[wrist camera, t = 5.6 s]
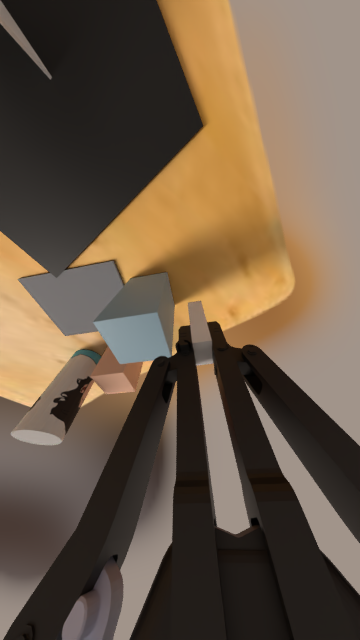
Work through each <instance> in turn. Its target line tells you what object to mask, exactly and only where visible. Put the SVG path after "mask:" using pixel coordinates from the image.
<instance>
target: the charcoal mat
mask: <svg viewBox="0 0 360 640" xmlns="http://www.w3.org/2000/svg"><path fill="white" fill-rule="evenodd" d="M18 280H19V282H20V283H21V284H22V285H23V286H24V288H25V289H26V290H27V291H28V292H29V293H30V295H31V296H32V297H33V298H34V299H35V301H36V302H37V303H38V304H39V305H40V307H41V308H42V309H43V310H44V311H45V313H46V314H47V315H48V316H49V317H50V318H51V320H52V321H53V322H54V323H55V324H56V326H57V327H58V328H59V329H60V330H61V332H62V333H63V334H64V335H65V336H69V335H75V334H82V333H89V332H96V331H98V329H97V328H96V326H95V325H94V323H93V321H94V320H95V319H96V318H97V317H98V315H99V314H100V313H101V312H102V311H103V310H104V309H105V307H106V306H107V305H108V304H109V303H110V302H111V300H112V299H113V298H114V297H115V296H116V295H117V294H118V292H119V291H120V290H121V289H122V288H123V287H124V284H123V281H122V279H121V276H120V274H119V272H118V269H117V267H116V264H115V262H114V260H113V261H108V262H103V263H98V264H93V265H87V266H82V267H77V268H72V269H67V270H64V271H63V272H62V273H61V274H60V275H59V276H58V277H57V278H56V277H55V276H53V275H52V274H51V273H46V274H41V275H36V276H30V277H25V278H20V279H18Z"/></svg>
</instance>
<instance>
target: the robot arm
mask: <svg viewBox="0 0 360 640" xmlns="http://www.w3.org/2000/svg"><path fill="white" fill-rule="evenodd" d="M188 309H189V319H190V325H189V326H182V327H180V329H179V341H178V342H177V343H176V350H177V353H176V354H175V355H173V356H171V357H169V358H167V357H166V356H159V357H157V358H156V359H155V360H154V361H153V363H152V365H151V367H150V369H149V371H148V374H147V376H146V378H145V380H144V382H143V385H142V387H141V389H140V391H139V393H138V395H137V398H136V400H135V402H134V404H133V407H132V409H131V411H130V413H129V415H128V417H127V419H126V422H125V424H124V426H123V428H122V430H121V432H120V435H119V437H118V439H117V441H116V443H115V446H114V448H113V450H112V452H111V454H110V457H109V459H108V461H107V463H106V466H105V467H104V470H103V472H102V474H101V476H100V479H99V481H98V483H97V485H96V487H95V489H94V491H93V494H92V496H91V498H90V500H89V502H88V504H87V507H86V509H85V511H84V513H83V516H82V518H81V520H80V522H79V524H78V526H77V528H76V530H75V531H74V533H73V534H72V536H71V537H70V539H69V540H68V542H67V543H66V545H65V546H64V548H63V549H62V551H61V553H60V554H59V555H58V557H57V558H56V560H55V561H54V563H53V564H52V566H51V567H50V569H49V570H48V572H47V573H46V575H45V576H44V577H43V579H42V580H41V582H40V583H39V585H38V586H37V588H36V589H35V591H34V592H33V594H32V595H31V597H30V598H29V600H28V601H27V603H26V604H25V606H24V607H23V609H22V610H21V612H20V613H19V615H18V616H17V617H16V619H15V620H14V622H13V623H12V625H11V627H10V629H9V630H8V632H7V634H6V636H5V637H4V639H3V640H113V636H114V633H115V629H116V626H117V622H118V619H119V615H120V612H121V607H122V601H123V579H122V575H121V572H120V569H121V566H122V564H123V562H124V559H125V557H126V555H127V552H128V549H129V546H130V544H131V541H132V538H133V535H134V532H135V529H136V525H137V522H138V519H139V515H140V511H141V508H142V504H143V500H144V497H145V493H146V489H147V486H148V482H149V478H150V474H151V470H152V467H153V463H154V459H155V456H156V452H157V449H158V444H159V441H160V437H161V433H162V430H163V426H164V422H165V419H166V415H167V412H168V408H169V404H170V400H171V396H172V393H173V389H174V386H175V382H176V381H177V456H176V457H177V458H176V459H177V460H176V461H177V462H176V463H177V464H176V482H175V486H174V496H173V536H172V543H171V545H170V546H169V548H168V550H167V551H166V553H165V555H164V557H163V559H162V562H161V564H160V567H159V569H158V572H157V574H156V576H155V579H154V581H153V584H152V586H151V589H150V591H149V593H148V596H147V598H146V601H145V603H144V606H143V608H142V611H141V613H140V615H139V618H138V620H137V623H136V625H135V628H134V630H133V632H132V635H131V637H130V640H360V595H359V594H358V593H357V591H356V590H355V589H354V588H353V587H352V586H351V584H350V583H349V582H348V581H347V580H346V578H345V577H344V576H343V575H342V574H341V572H340V571H339V570H338V569H337V568H336V567H335V565H334V564H333V563H332V562H331V561H330V560H329V559H328V557H326V555H325V554H324V553H323V552H322V551H321V550H320V549H319V547H318V545H317V542H316V540H315V538H314V536H313V533H312V531H311V529H310V526H309V524H308V521H307V519H306V517H305V514H304V512H303V510H302V507H301V505H300V503H299V500H298V498H297V496H296V494H295V492H294V490H293V488H292V486H291V485H290V483H289V482H288V481H287V479H286V478H285V477H284V475H283V474H282V471H281V469H280V467H279V465H278V462H277V460H276V457H275V455H274V452H273V450H272V447H271V445H270V443H269V440H268V438H267V435H266V433H265V430H264V428H263V426H262V423H261V421H260V418H259V416H258V413H257V411H256V408H255V406H254V403H253V401H252V398H251V396H250V393H249V391H248V389H247V386H246V384H247V385H248V386H249V388H250V389H251V391H252V392H253V394H254V395H255V396H256V398H257V399H258V401H259V402H260V404H261V405H262V406H263V408H264V409H265V410H266V412H267V413H268V415H269V416H270V418H271V419H272V420H273V422H274V424H275V425H276V426H277V428H278V429H279V430H280V432H281V433H282V435H283V436H284V438H285V439H286V441H287V442H288V444H289V445H290V446H291V448H292V449H293V450H294V452H295V454H296V455H297V456H298V458H299V459H300V461H301V462H302V464H303V465H304V466H305V468H306V469H307V471H308V472H309V473H310V475H311V476H312V477H313V479H314V481H315V482H316V483H317V485H318V486H319V488H320V489H321V491H322V492H323V493H324V495H325V496H326V498H327V499H328V501H329V502H330V503H331V505H332V506H333V508H334V509H335V511H336V512H337V513H338V515H339V516H340V518H341V519H342V520H343V522H344V523H345V524H346V526H347V527H348V528H349V530H350V531H351V532H352V534H353V535H354V537H355V538H356V539H357V540H358V542H359V543H360V446H359V445H358V444H357V443H356V442H355V441H354V440H353V439H352V438H351V437H350V436H349V435H348V434H347V433H346V432H345V431H344V430H343V429H342V428H340V427H339V426H338V424H337V423H335V422H334V421H333V420H332V419H331V418H330V417H329V416H328V415H327V414H326V413H325V412H324V411H323V410H322V409H321V408H320V407H319V406H318V405H317V404H316V403H315V402H314V401H313V400H312V399H311V398H310V397H309V396H308V395H307V394H306V393H305V392H304V391H303V390H302V389H301V388H300V387H299V386H298V385H297V384H296V383H295V382H294V381H293V380H291V379H290V378H289V377H288V376H287V375H286V374H285V373H284V372H283V371H282V370H281V369H280V368H279V367H278V366H277V365H276V364H275V363H274V362H273V361H272V360H271V359H270V358H269V357H268V356H267V355H266V354H265V353H264V352H263V351H262V350H261V349H260V348H258V347H257V346H254V345H245V346H244V347H243V348H242V349H241V348H234V347H231V346H230V345H229V344H228V343H227V342H226V339H225V337H224V335H223V332H222V329H221V327H220V324H219V323H217V322H216V321H214V322H207V321H206V317H205V314H204V310H203V307H202V303H201V301H196V302H189V303H188ZM212 363H214V371H215V375H216V378H217V382H218V386H219V391H220V395H221V399H222V404H223V408H224V412H225V416H226V421H227V425H228V429H229V433H230V437H231V441H232V446H233V450H234V454H235V459H236V463H237V467H238V471H239V476H240V480H241V484H242V490H243V496H244V501H245V506H246V510H247V514H248V519H249V523H250V528H248V529H246V530H244V531H242V532H240V533H238V534H232V533H230V532H228V531H225V530H223V529H221V528H218V527H217V524H216V516H215V509H214V500H213V493H212V486H211V478H210V470H209V462H208V454H207V446H206V438H205V430H204V423H203V414H202V407H201V399H200V390H199V382H198V374H197V367H196V365H204V364H212ZM245 382H246V384H245Z"/></svg>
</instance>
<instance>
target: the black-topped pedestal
mask: <svg viewBox="0 0 360 640" xmlns="http://www.w3.org/2000/svg"><path fill="white" fill-rule="evenodd" d="M202 127H203V124H202V121H201V118H200V116H199V113H198V110H197V108H196V105H195V102H194V100H193V97H192V94H191V92H190V89H189V86H188V84H187V81H186V78H185V76H184V73H183V70H182V68H181V65H180V62H179V59H178V57H177V54H176V51H175V49H174V46H173V43H172V41H171V38H170V35H169V33H168V30H167V27H166V25H165V22H164V19H163V17H162V14H161V11H160V9H159V6H158V3H157V1H156V0H0V231H1V232H2V233H3V234H5V235H6V236H7V237H8V238H9V239H11V240H12V241H13V242H14V243H15V244H16V245H18V246H19V247H20V248H21V249H22V250H24V251H25V252H26V253H27V254H28V255H30V256H31V257H32V258H33V259H34V260H35V261H37V262H38V263H39V264H40V265H41V266H43V267H44V268H45V269H46V270H47V271H49V272H50V273H51V274H52V275H53V276H55V277H56V278H57V277H58V276H59V275H60V274H61V273H62V272H63V271H64V270H65V269H66V268H67V267H68V266H69V265H70V264H71V263H72V261H73V260H74V259H75V258H76V257H77V256H78V255H79V254H80V253H81V252H82V251H83V250H84V249H85V248H86V247H87V246H88V245H89V244H90V243H91V242H92V241H93V240H94V239H95V238H96V237H97V236H98V235H99V233H100V232H101V231H102V230H103V229H104V228H105V227H106V226H107V225H108V224H109V223H110V222H111V221H112V220H113V219H114V218H115V217H116V216H117V215H118V214H119V213H120V212H121V211H122V210H123V209H124V208H125V206H126V205H127V204H128V203H129V202H130V201H131V200H132V199H133V198H134V197H135V196H136V195H137V194H138V193H139V192H140V191H141V190H142V189H143V188H144V187H145V186H146V185H147V184H148V183H149V182H150V181H151V180H152V178H153V177H154V176H155V175H156V174H157V173H158V172H159V171H160V170H161V169H162V168H163V167H164V166H165V165H166V164H167V163H168V162H169V161H170V160H171V159H172V158H173V157H174V156H175V155H176V154H177V153H178V151H179V150H180V149H181V148H182V147H183V146H184V145H185V144H186V143H187V142H188V141H189V140H190V139H191V138H192V137H193V136H194V135H195V134H196V133H197V132H198V131H199V130H200V129H201V128H202Z"/></svg>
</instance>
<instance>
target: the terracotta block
mask: <svg viewBox="0 0 360 640" xmlns="http://www.w3.org/2000/svg"><path fill="white" fill-rule="evenodd" d="M142 364H143V362H134V363H126V364H120V363H119V362H118V360H117V359H116V357H115V356H114V354H113V353H112V351H111V350H110V348H109V346H107V348H106V350H105V352H104V353H103V355H102V357H101V359H100V360H99V362H98V364H97V366H96V367H95V369H94V371H93V372H92V374H91V376H90V377H91V378H92V379H93V380H94V381H95V382H96V383H97V385H98V386H99V387H100V388H101V389H102V390H103V391H104V392H105V393H106V394H114V393H124V392H134V391H136V387H137V383H138V379H139V376H140V372H141V368H142Z"/></svg>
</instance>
